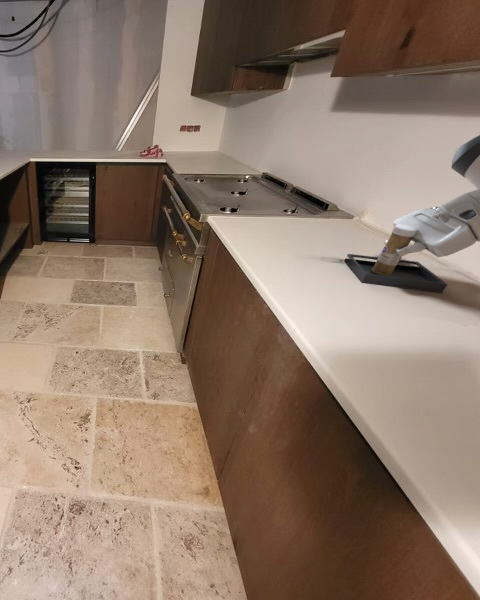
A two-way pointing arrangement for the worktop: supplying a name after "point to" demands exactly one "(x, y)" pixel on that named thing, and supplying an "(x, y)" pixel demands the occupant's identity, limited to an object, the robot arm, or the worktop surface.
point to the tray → (397, 275)
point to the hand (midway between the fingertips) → (391, 249)
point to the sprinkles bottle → (393, 249)
